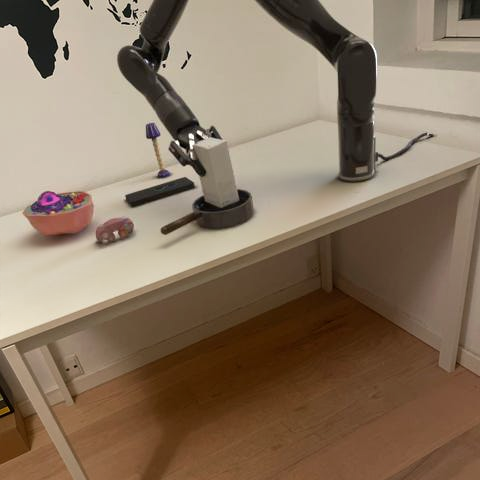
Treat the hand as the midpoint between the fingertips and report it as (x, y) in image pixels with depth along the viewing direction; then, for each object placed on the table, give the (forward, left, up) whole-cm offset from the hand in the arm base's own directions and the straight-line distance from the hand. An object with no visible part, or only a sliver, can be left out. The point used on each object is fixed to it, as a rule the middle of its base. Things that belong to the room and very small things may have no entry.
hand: (215, 169), depth 116 cm
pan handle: (+13, 0, -9) cm, 16 cm away
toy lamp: (-13, -46, -12) cm, 49 cm away
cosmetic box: (0, 0, -8) cm, 8 cm away
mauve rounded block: (+23, -16, -12) cm, 30 cm away
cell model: (+28, -34, -12) cm, 45 cm away
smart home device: (-2, -32, -12) cm, 34 cm away
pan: (0, 0, -12) cm, 12 cm away
